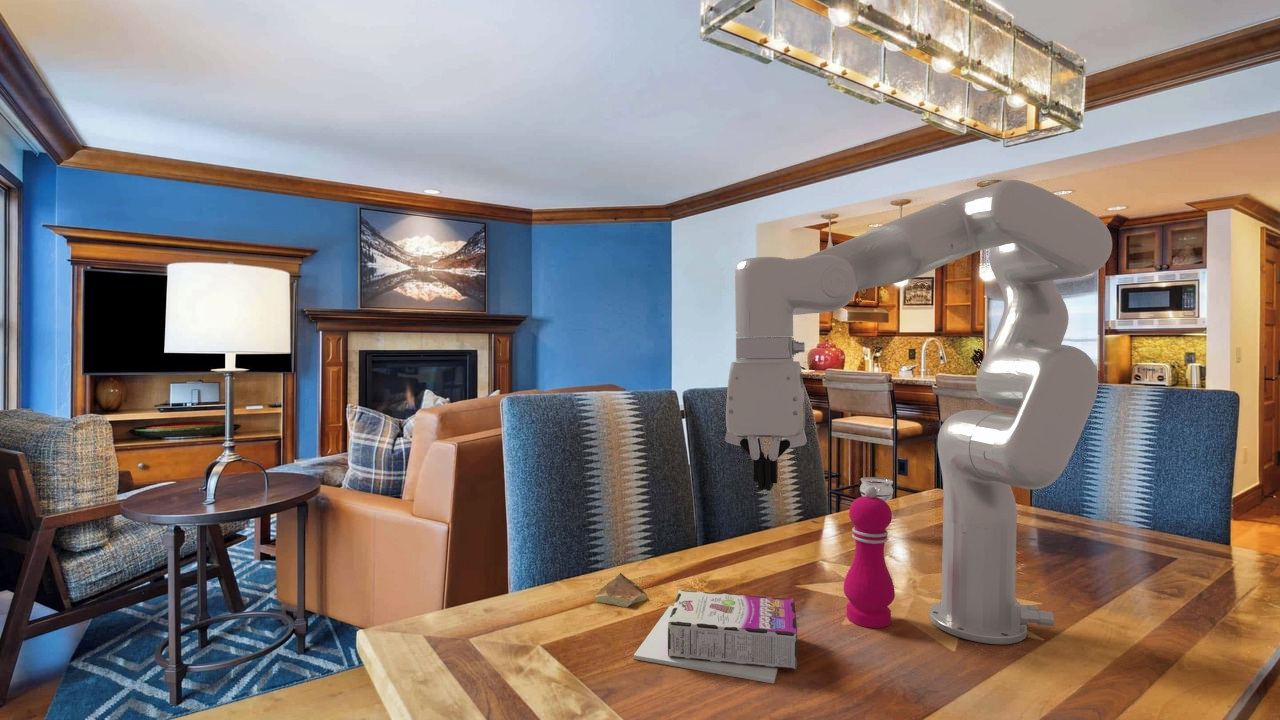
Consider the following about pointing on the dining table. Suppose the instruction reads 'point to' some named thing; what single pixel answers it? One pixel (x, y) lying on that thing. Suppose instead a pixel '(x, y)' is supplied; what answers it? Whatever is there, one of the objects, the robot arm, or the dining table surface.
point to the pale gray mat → (658, 653)
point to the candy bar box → (733, 629)
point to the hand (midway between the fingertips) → (765, 488)
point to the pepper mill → (869, 563)
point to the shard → (620, 592)
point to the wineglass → (878, 487)
